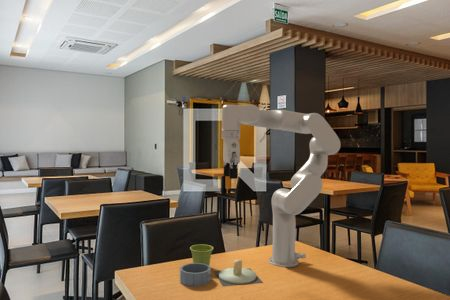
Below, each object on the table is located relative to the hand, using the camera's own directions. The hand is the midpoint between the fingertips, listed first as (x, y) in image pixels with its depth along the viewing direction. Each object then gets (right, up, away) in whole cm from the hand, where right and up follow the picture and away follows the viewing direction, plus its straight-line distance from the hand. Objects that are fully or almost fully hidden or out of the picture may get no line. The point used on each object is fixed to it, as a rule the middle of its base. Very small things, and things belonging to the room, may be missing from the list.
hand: (230, 177), depth 146 cm
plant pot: (-12, -37, -2) cm, 39 cm away
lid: (+3, -36, -12) cm, 38 cm away
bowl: (-13, -37, -15) cm, 42 cm away
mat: (+2, -37, -12) cm, 39 cm away
